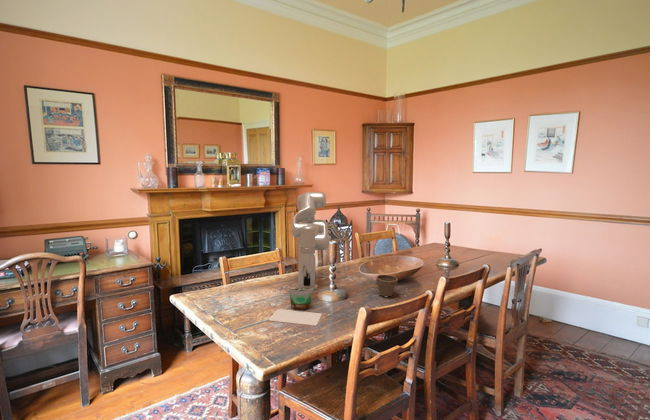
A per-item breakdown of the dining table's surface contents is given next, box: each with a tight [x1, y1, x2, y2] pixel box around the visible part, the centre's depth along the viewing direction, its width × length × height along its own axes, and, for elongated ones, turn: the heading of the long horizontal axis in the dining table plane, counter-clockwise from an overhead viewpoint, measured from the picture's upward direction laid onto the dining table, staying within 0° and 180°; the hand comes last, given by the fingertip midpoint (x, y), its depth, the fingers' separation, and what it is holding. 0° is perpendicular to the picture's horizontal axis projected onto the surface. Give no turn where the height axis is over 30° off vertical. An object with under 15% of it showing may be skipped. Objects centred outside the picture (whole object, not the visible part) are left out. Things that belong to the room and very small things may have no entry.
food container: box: [288, 287, 314, 311], centre depth 175 cm, size 12×6×10 cm, turn 105°
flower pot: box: [375, 274, 399, 297], centre depth 196 cm, size 12×11×10 cm
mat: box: [268, 308, 323, 327], centre depth 165 cm, size 13×22×1 cm, turn 79°
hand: (306, 285), depth 184 cm, fingers closed
